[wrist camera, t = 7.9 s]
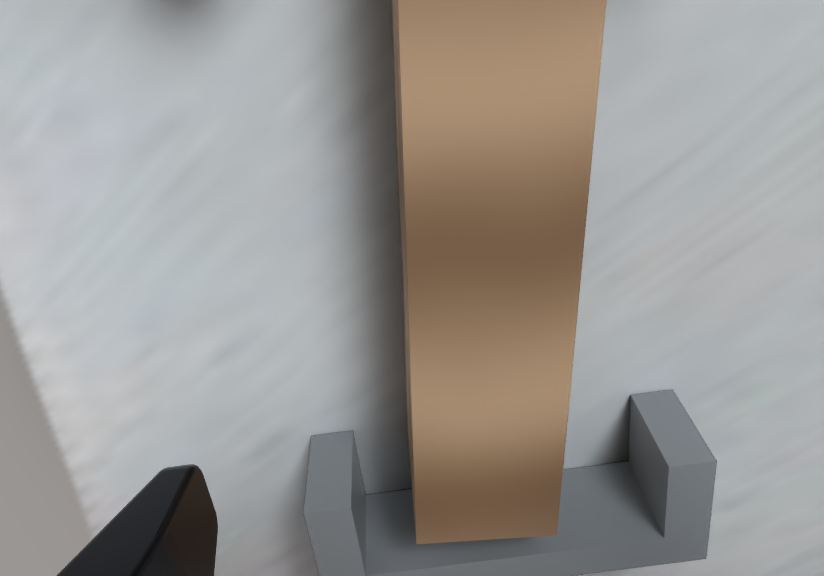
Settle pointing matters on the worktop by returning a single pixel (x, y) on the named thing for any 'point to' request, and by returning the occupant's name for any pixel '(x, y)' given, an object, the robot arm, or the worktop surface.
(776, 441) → the worktop surface
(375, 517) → the end cap
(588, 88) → the slat
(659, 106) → the worktop surface
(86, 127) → the worktop surface
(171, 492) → the robot arm
